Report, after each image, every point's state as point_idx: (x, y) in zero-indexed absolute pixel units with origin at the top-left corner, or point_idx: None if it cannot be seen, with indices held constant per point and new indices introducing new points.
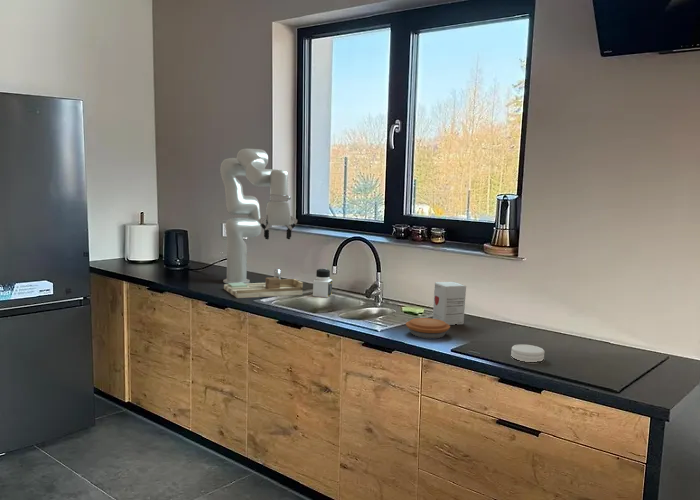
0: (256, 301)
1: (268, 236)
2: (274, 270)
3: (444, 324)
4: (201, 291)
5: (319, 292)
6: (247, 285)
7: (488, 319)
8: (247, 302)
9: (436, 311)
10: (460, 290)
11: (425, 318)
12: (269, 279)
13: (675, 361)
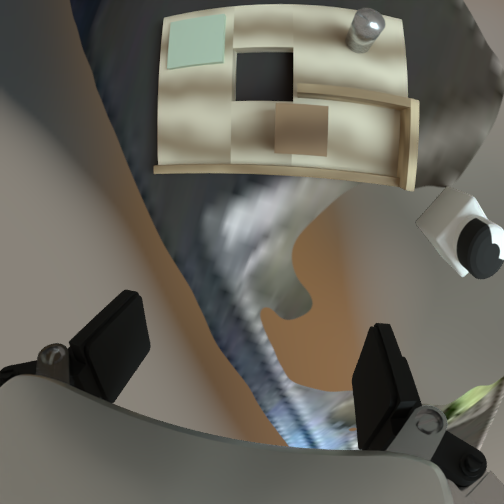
0: (206, 233)
1: (136, 365)
2: (354, 19)
3: None
4: (104, 60)
5: (431, 242)
6: (234, 37)
7: (479, 437)
8: (178, 238)
9: None
10: None
11: None
12: (277, 148)
13: None
